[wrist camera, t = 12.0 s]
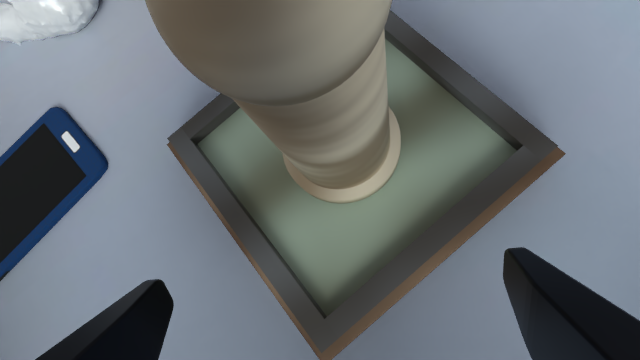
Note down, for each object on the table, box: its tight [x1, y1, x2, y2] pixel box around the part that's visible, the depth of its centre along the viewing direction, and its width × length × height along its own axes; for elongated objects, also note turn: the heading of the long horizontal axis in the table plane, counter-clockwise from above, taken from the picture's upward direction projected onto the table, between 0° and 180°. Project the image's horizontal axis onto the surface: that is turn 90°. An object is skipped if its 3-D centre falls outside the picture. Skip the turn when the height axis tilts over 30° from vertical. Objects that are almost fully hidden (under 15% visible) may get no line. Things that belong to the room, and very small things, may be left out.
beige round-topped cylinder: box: [145, 0, 401, 204], centre depth 12 cm, size 6×6×14 cm
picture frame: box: [167, 11, 565, 360], centre depth 19 cm, size 15×15×2 cm
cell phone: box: [0, 107, 108, 281], centre depth 24 cm, size 7×14×1 cm, turn 138°
